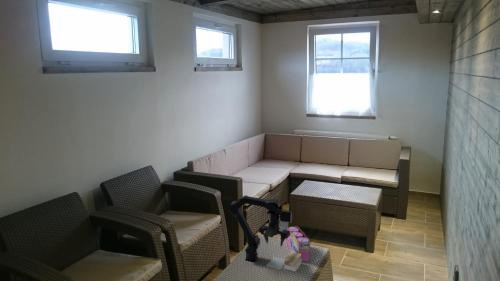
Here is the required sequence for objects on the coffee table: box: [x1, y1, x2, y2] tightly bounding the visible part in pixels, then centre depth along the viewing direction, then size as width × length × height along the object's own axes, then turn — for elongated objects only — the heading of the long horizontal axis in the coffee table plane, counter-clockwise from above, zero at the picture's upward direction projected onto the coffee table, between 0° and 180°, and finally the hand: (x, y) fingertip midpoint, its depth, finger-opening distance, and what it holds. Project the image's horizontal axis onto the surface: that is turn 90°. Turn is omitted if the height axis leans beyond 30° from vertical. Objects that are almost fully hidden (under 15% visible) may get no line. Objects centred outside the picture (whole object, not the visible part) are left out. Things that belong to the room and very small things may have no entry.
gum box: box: [286, 225, 311, 262], centre depth 241 cm, size 24×8×14 cm, turn 14°
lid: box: [284, 251, 301, 267], centre depth 224 cm, size 6×11×3 cm, turn 152°
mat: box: [265, 256, 285, 271], centre depth 228 cm, size 9×13×1 cm
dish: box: [283, 260, 302, 272], centre depth 224 cm, size 7×10×4 cm
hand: (274, 244), depth 227 cm, fingers open, 9 cm apart
